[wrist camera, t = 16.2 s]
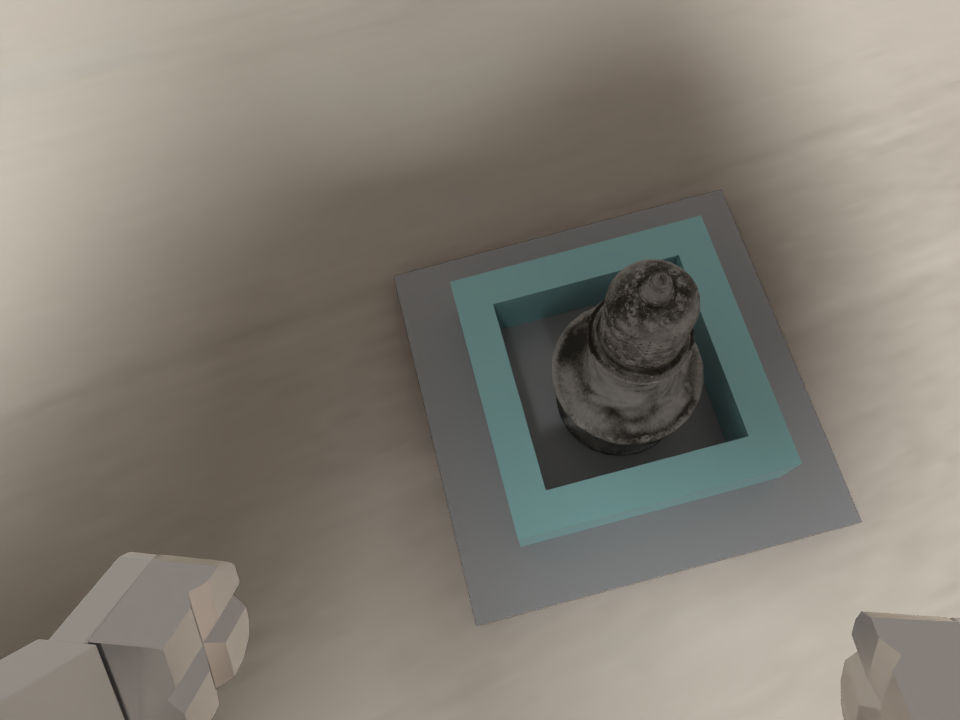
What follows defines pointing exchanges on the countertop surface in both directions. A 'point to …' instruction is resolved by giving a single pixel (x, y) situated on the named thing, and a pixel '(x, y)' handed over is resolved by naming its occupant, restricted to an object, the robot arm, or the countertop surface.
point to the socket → (591, 474)
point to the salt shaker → (631, 361)
